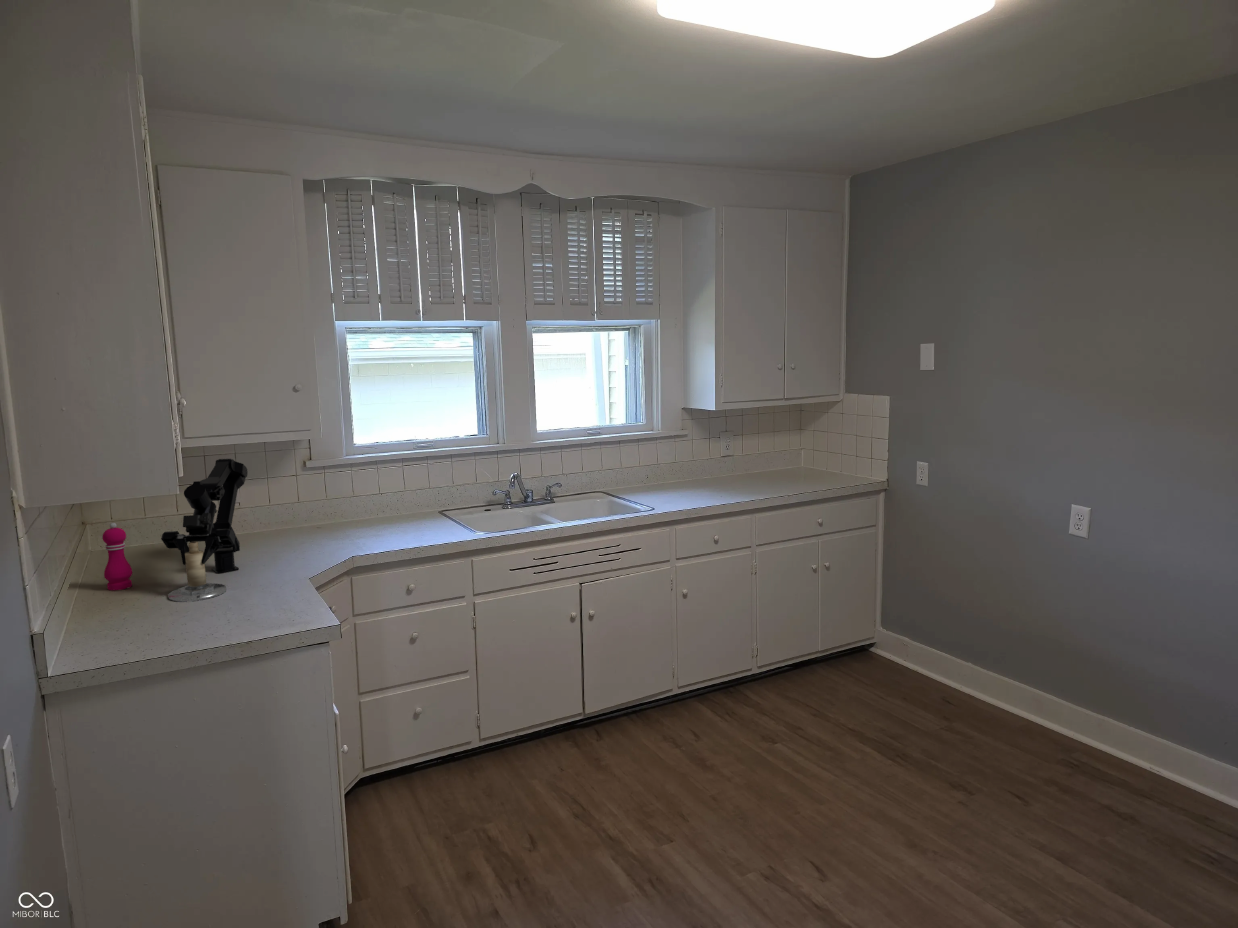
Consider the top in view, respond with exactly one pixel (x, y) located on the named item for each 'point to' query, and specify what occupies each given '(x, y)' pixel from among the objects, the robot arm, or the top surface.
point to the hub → (197, 592)
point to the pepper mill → (116, 559)
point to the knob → (195, 566)
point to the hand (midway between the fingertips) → (193, 563)
